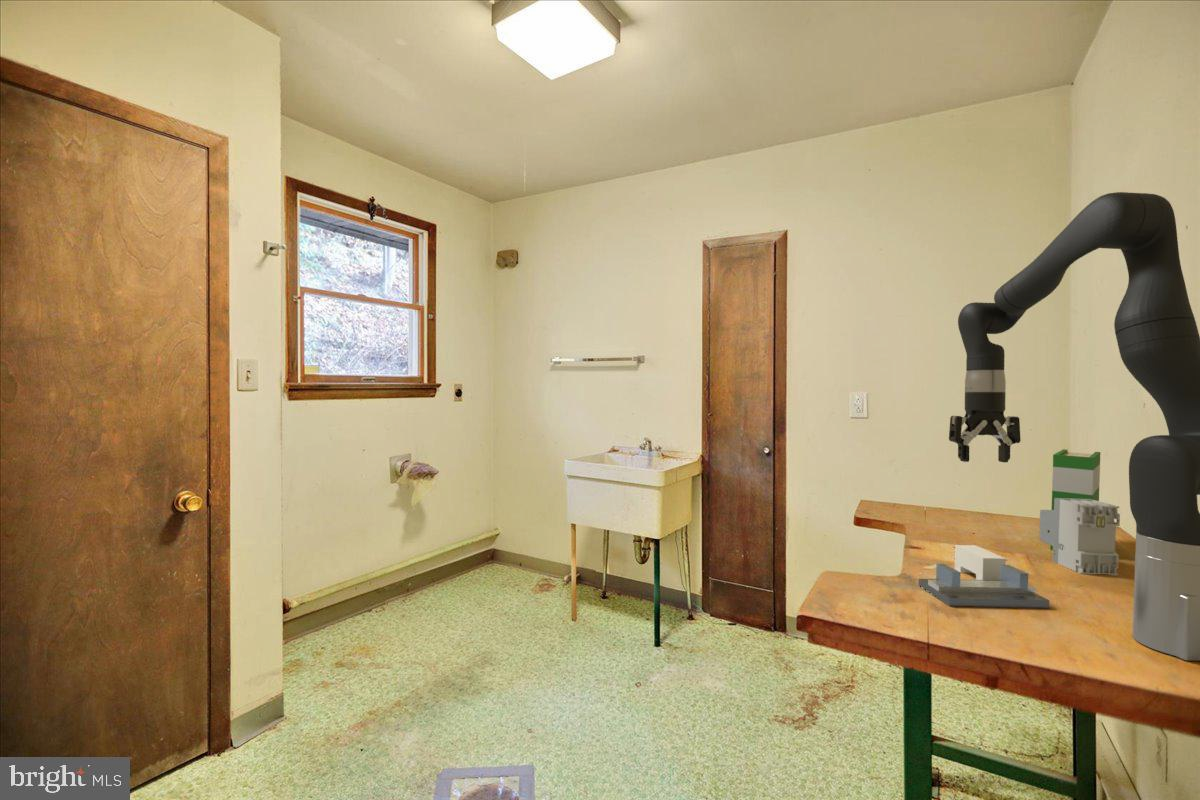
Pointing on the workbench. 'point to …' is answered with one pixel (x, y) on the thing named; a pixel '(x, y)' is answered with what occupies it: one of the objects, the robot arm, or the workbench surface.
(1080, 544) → the circuit breaker
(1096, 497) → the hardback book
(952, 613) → the workbench surface
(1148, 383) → the robot arm
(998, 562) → the block
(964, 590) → the rail mount
